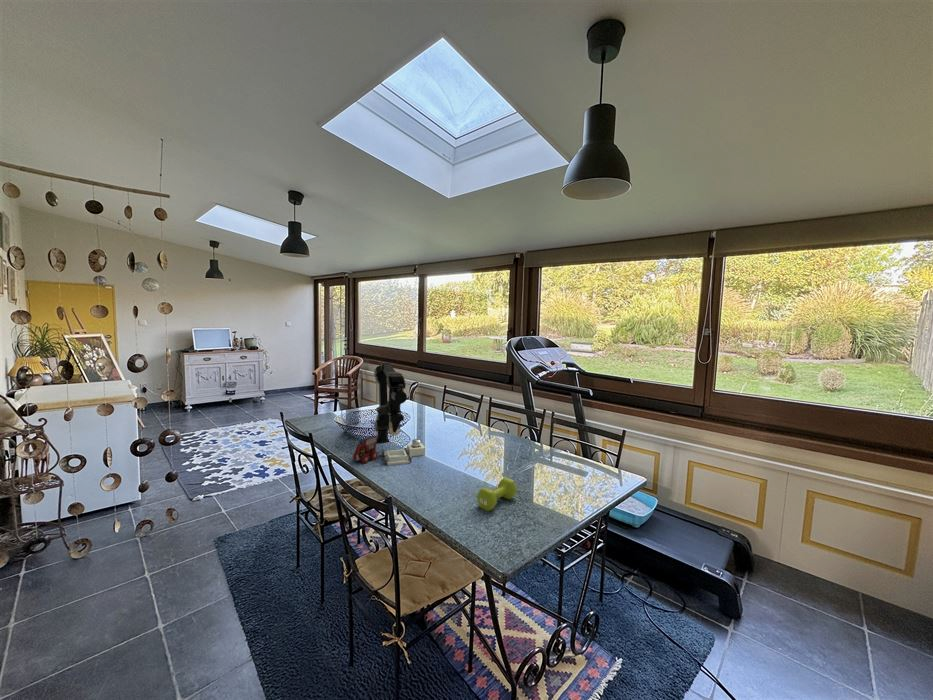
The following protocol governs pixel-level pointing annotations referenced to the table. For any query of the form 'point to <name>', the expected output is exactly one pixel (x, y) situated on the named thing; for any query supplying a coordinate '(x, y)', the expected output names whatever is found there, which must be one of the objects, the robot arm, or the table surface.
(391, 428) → the engine block
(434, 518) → the table surface
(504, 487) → the dumbbell
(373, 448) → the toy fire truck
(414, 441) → the plunger
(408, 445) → the plunger housing
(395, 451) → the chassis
